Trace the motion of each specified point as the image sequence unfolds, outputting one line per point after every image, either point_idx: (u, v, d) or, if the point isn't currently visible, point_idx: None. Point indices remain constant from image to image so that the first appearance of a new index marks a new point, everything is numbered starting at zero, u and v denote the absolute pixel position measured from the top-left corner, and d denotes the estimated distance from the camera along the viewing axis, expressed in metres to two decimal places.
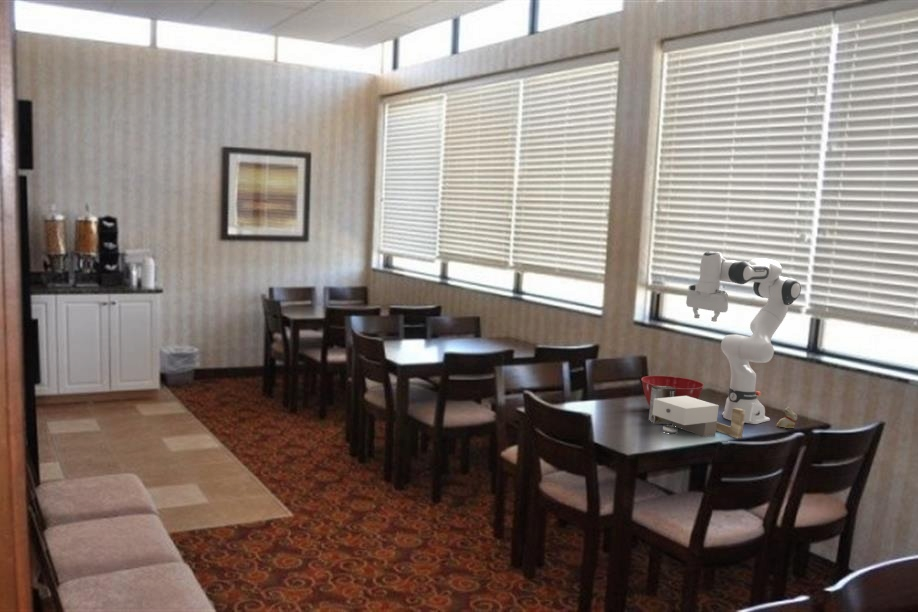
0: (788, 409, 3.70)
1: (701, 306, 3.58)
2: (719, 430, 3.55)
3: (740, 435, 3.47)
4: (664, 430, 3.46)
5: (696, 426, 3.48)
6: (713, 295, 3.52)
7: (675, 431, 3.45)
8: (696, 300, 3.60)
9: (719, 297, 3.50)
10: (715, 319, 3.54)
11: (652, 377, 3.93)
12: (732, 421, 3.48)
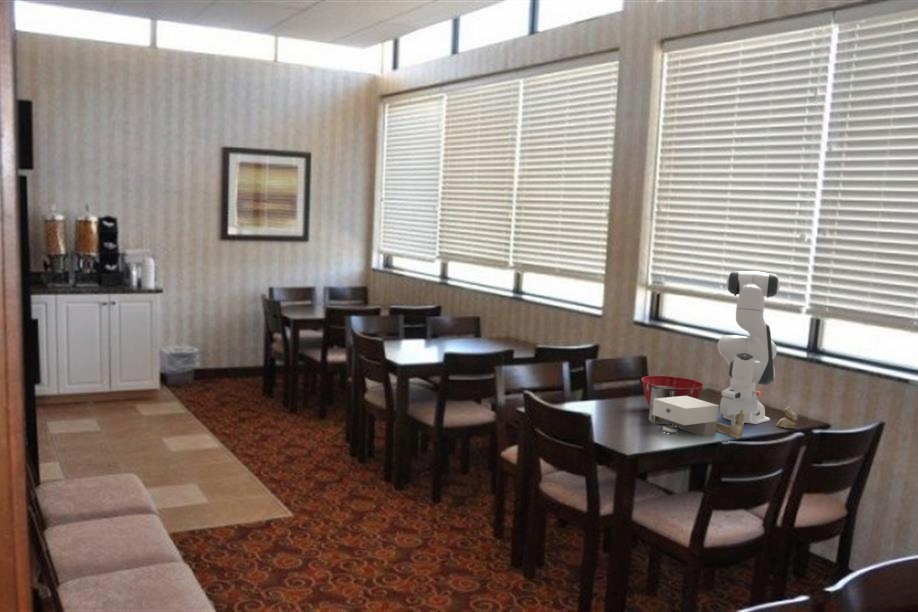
0: (788, 409, 3.70)
1: None
2: (719, 430, 3.55)
3: (740, 435, 3.47)
4: (664, 430, 3.46)
5: (696, 426, 3.48)
6: (750, 398, 3.47)
7: (675, 431, 3.45)
8: (736, 407, 3.43)
9: (755, 398, 3.49)
10: None
11: (652, 377, 3.93)
12: None
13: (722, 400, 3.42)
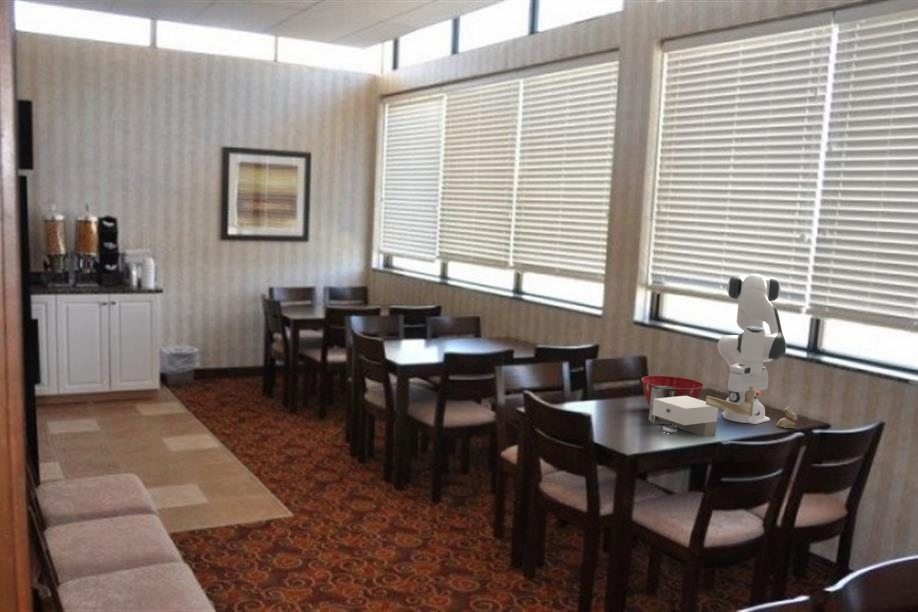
0: (788, 409, 3.70)
1: (749, 388, 3.21)
2: (727, 409, 3.31)
3: (750, 414, 3.23)
4: (664, 430, 3.46)
5: (696, 426, 3.48)
6: (760, 374, 3.23)
7: (675, 431, 3.45)
8: (745, 383, 3.19)
9: (765, 375, 3.25)
10: None
11: (652, 377, 3.93)
12: None
13: (730, 376, 3.18)
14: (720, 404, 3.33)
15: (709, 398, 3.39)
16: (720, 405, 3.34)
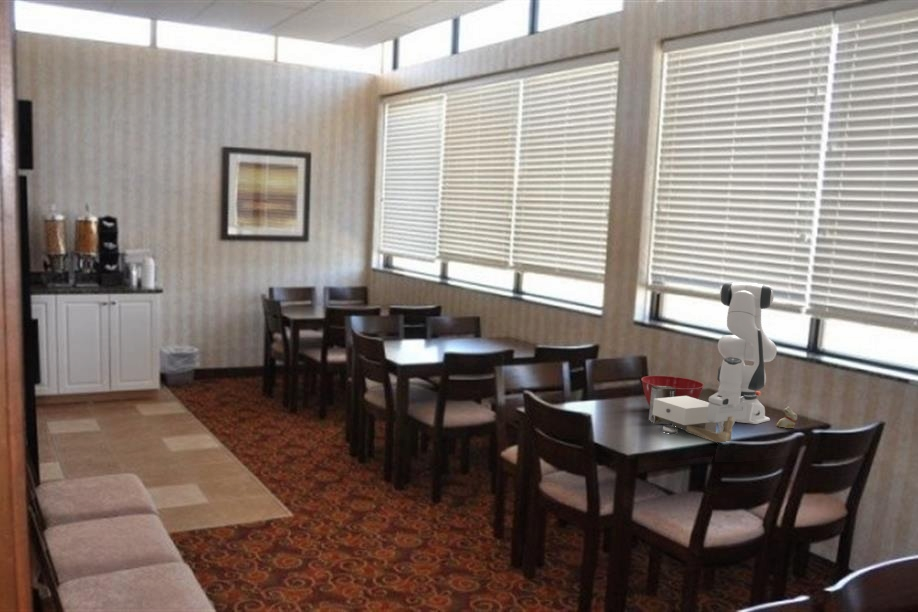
0: (788, 409, 3.70)
1: None
2: (706, 437, 3.40)
3: None
4: (664, 430, 3.46)
5: None
6: (738, 404, 3.32)
7: (675, 431, 3.45)
8: (723, 413, 3.28)
9: (743, 404, 3.34)
10: None
11: (652, 377, 3.93)
12: None
13: (709, 406, 3.28)
14: (700, 433, 3.43)
15: (689, 426, 3.48)
16: (700, 433, 3.43)
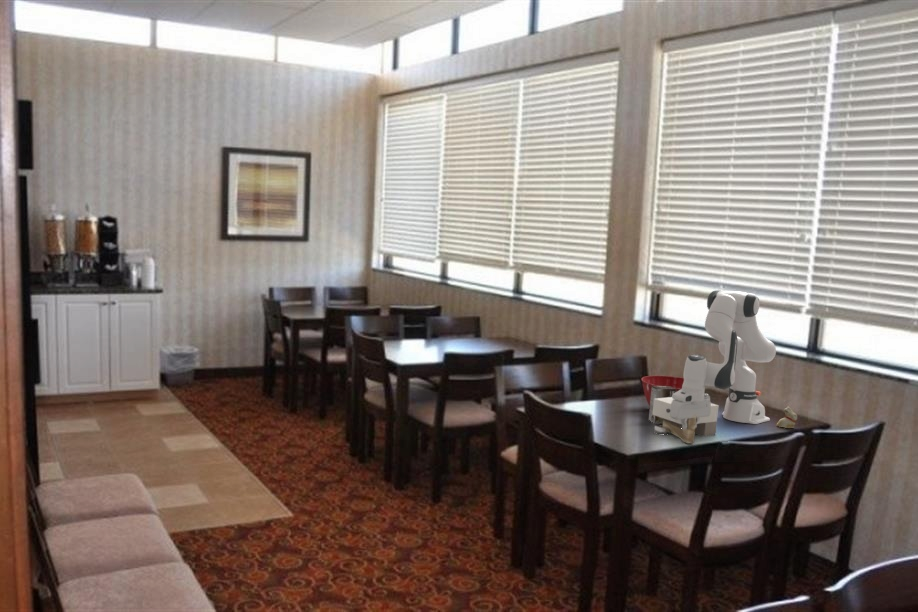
0: (788, 409, 3.70)
1: (691, 415, 3.29)
2: (675, 434, 3.40)
3: (691, 441, 3.31)
4: (655, 430, 3.45)
5: None
6: (703, 401, 3.31)
7: (666, 431, 3.43)
8: (687, 410, 3.27)
9: (708, 402, 3.33)
10: None
11: (652, 377, 3.93)
12: None
13: (672, 403, 3.26)
14: (671, 429, 3.43)
15: (664, 422, 3.49)
16: (671, 430, 3.44)
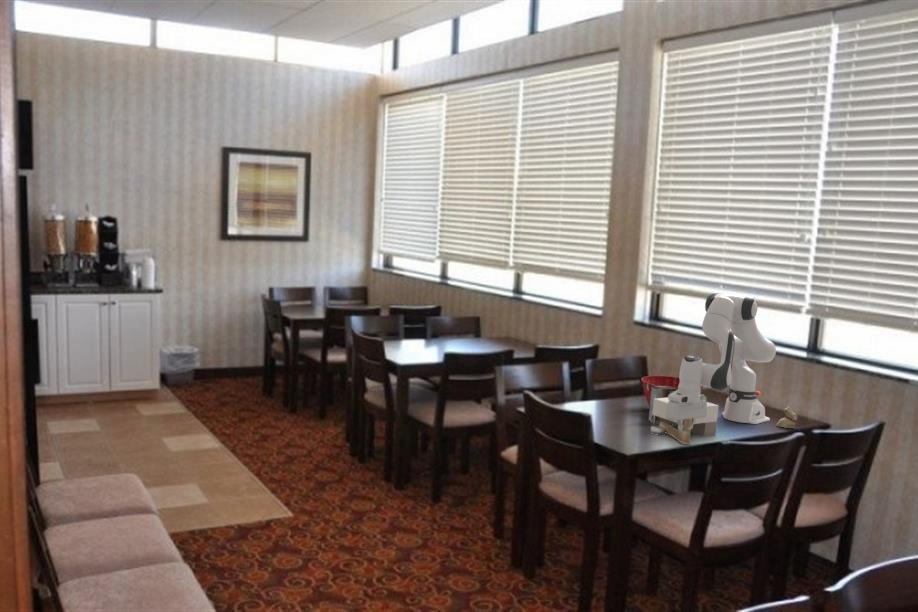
0: (788, 409, 3.70)
1: (687, 416, 3.27)
2: (672, 435, 3.39)
3: (687, 442, 3.30)
4: (651, 430, 3.44)
5: (696, 426, 3.48)
6: (699, 402, 3.30)
7: (662, 432, 3.42)
8: (683, 411, 3.26)
9: (704, 402, 3.32)
10: None
11: (652, 377, 3.93)
12: None
13: (668, 404, 3.25)
14: (668, 430, 3.42)
15: (661, 423, 3.48)
16: (668, 431, 3.43)
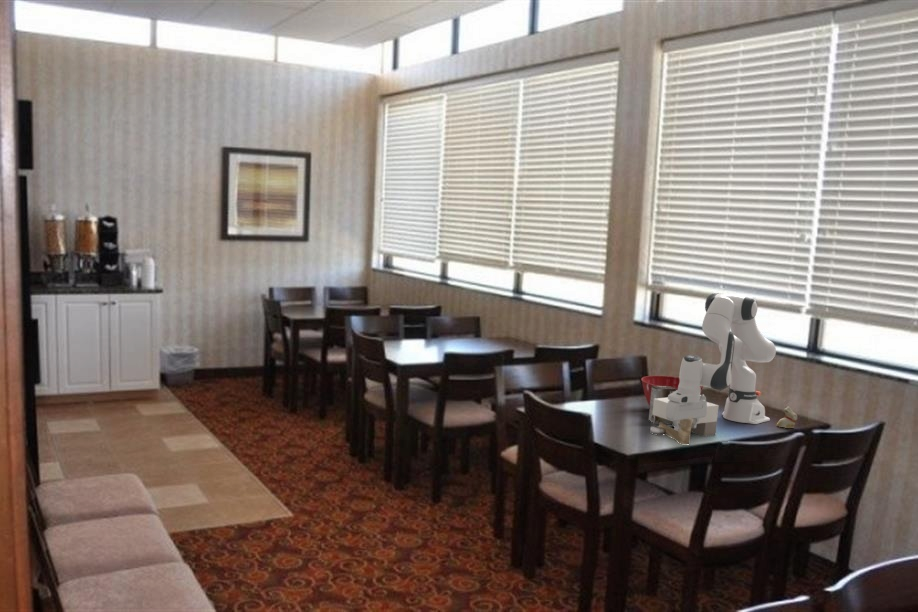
0: (788, 409, 3.70)
1: (687, 416, 3.27)
2: (671, 436, 3.39)
3: (687, 443, 3.30)
4: (651, 431, 3.44)
5: (696, 426, 3.48)
6: (699, 402, 3.30)
7: (662, 432, 3.42)
8: (683, 411, 3.26)
9: (704, 402, 3.32)
10: None
11: (652, 377, 3.93)
12: None
13: (668, 404, 3.25)
14: (668, 431, 3.42)
15: (661, 424, 3.48)
16: (667, 432, 3.43)
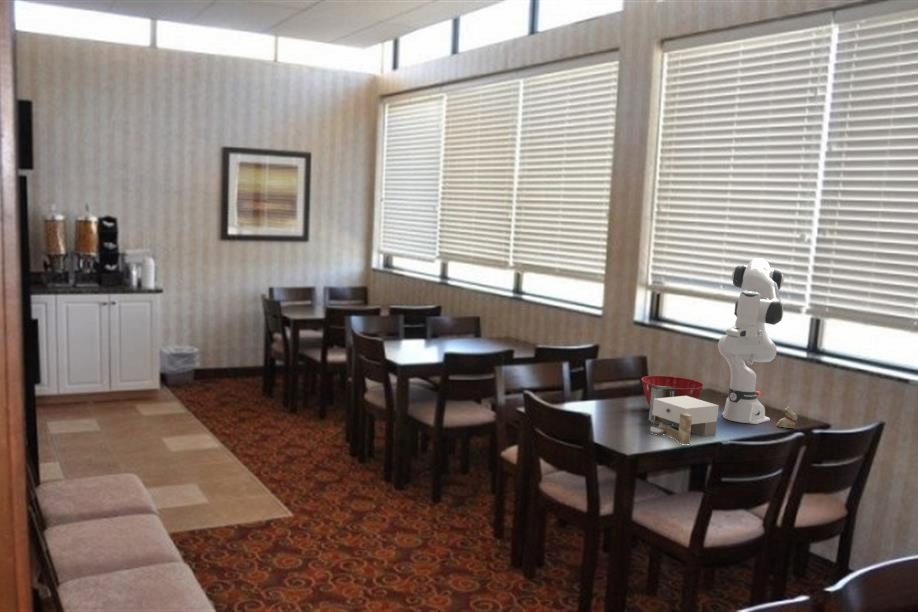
0: (788, 409, 3.70)
1: (745, 351, 3.30)
2: (671, 436, 3.39)
3: (687, 443, 3.30)
4: (651, 431, 3.44)
5: (696, 426, 3.48)
6: (756, 337, 3.33)
7: (662, 432, 3.42)
8: (741, 346, 3.28)
9: (761, 338, 3.34)
10: None
11: (652, 377, 3.93)
12: (679, 426, 3.32)
13: (727, 339, 3.28)
14: (668, 431, 3.42)
15: (661, 424, 3.48)
16: (667, 432, 3.43)
